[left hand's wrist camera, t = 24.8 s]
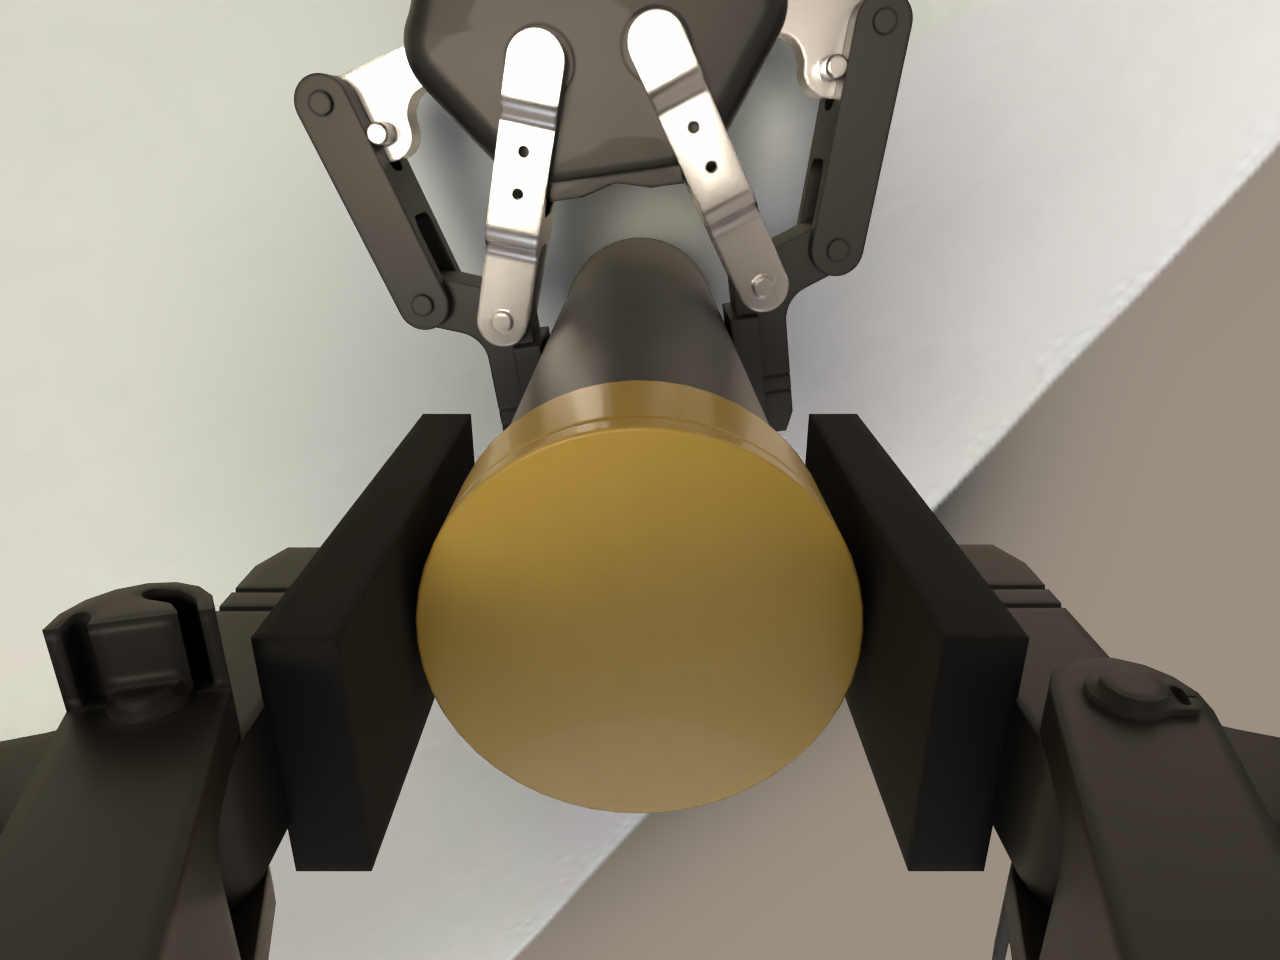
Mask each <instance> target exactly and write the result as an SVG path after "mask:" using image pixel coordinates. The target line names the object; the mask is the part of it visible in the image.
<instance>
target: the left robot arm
mask: <svg viewBox="0 0 1280 960" xmlns="http://www.w3.org/2000/svg"><path fill="white" fill-rule="evenodd" d="M474 465H475V463H474V450H473V437H472V424H471V414H423V415H422V416H421V418H420V419H419V420H418V421H417V423H416V424H415V425H414V427H413V428H412V429H411V430H410V432H409V433H408V434H407V436H406V437H405V438H404V440H403V441H402V442H401V443H400V445H399V446H398V447H397V449H396V450H395V451H394V452H393V454H392V455H391V456H390V458H389V459H388V460H387V462H386V463H385V464H384V465H383V467H382V468H381V469H380V471H379V472H378V473H377V475H376V476H375V477H374V478H373V480H372V481H371V482H370V484H369V485H368V486H367V487H366V489H365V490H364V491H363V493H362V494H361V495H360V497H359V498H358V499H357V500H356V502H355V503H354V504H353V506H352V507H351V508H350V509H349V511H348V512H347V513H346V515H345V516H344V517H343V519H342V520H341V521H340V522H339V524H338V525H337V526H336V528H335V529H334V530H333V532H332V533H331V534H330V535H329V537H328V538H327V539H326V541H325V542H324V543H323V544H322V546H321V547H320V548H286V549H285V550H283V551H281V552H279V553H278V554H276V555H274V556H272V557H271V558H269V559H267V560H265V561H264V562H262V563H260V564H258V565H257V566H255V567H254V568H253V569H252V571H251V572H250V573H249V574H248V575H247V576H246V577H245V578H244V580H243V581H242V582H241V583H240V584H239V585H238V586H237V587H236V593H231V594H230V595H229V596H228V598H227V599H226V600H225V601H224V602H223V603H222V604H221V605H220V610H219V611H215V606H214V602H213V597H212V595H211V594H209V593H208V592H206V591H205V590H204V589H202V588H201V587H199V586H194V585H189V584H184V583H178V582H171V583H147V584H142V585H137V586H132V587H127V588H122V589H116V590H113V591H111V592H108V593H105V594H102V595H99V596H96V597H93V598H90V599H87V600H85V601H83V602H81V603H79V604H77V605H76V606H74V607H72V608H70V609H68V610H66V611H65V612H63V613H61V614H59V615H58V616H57V617H56V618H55V619H54V620H53V621H52V622H51V623H50V624H49V625H47V626H46V627H45V628H44V629H43V630H42V631H43V634H44V638H45V641H46V644H47V648H48V651H49V654H50V658H51V661H52V664H53V668H54V671H55V674H56V678H57V681H58V684H59V688H60V691H61V694H62V698H63V701H64V704H65V708H66V711H67V712H66V714H65V716H64V718H63V720H62V722H61V723H60V725H59V727H58V729H57V730H56V731H52V732H48V733H43V734H38V735H33V736H28V737H22V738H17V739H12V740H7V741H1V742H0V960H268V958H269V950H270V943H271V935H272V928H273V920H274V913H275V905H276V901H275V893H274V886H273V881H272V876H271V872H270V867H269V864H270V862H271V860H272V858H273V856H274V854H275V852H276V850H277V848H278V846H279V844H280V842H281V840H282V838H283V836H284V834H285V832H286V830H287V829H288V832H289V837H290V842H291V847H292V852H293V857H294V862H295V867H296V871H372V869H373V866H374V863H375V860H376V858H377V855H378V852H379V849H380V847H381V844H382V841H383V838H384V836H385V833H386V830H387V827H388V825H389V822H390V819H391V816H392V814H393V811H394V808H395V805H396V803H397V800H398V797H399V794H400V792H401V789H402V786H403V783H404V781H405V778H406V775H407V772H408V770H409V767H410V764H411V761H412V759H413V756H414V753H415V750H416V748H417V745H418V742H419V739H420V737H421V734H422V731H423V728H424V726H425V723H426V720H427V717H428V715H429V712H430V709H431V706H432V704H433V701H434V698H435V696H434V695H433V693H432V690H431V688H430V685H429V683H428V680H427V677H426V675H425V672H424V669H423V666H422V662H421V657H420V653H419V648H418V644H417V631H416V607H417V595H418V589H419V585H420V581H421V576H422V572H423V568H424V565H425V563H426V560H427V558H428V555H429V553H430V550H431V548H432V546H433V543H434V541H435V539H436V537H437V535H438V533H439V531H440V529H441V527H442V525H443V523H444V521H445V519H446V517H447V515H448V513H449V511H450V509H451V507H452V505H453V503H454V501H455V499H456V497H457V495H458V493H459V491H460V489H461V487H462V485H463V483H464V481H465V480H466V478H467V476H468V475H469V473H470V471H471V470H472V468H473V466H474ZM805 466H806V467H807V469H808V470H809V472H810V473H811V475H812V477H813V479H814V481H815V483H816V485H817V487H818V489H819V491H820V493H821V495H822V497H823V499H824V501H825V503H826V505H827V507H828V509H829V511H830V513H831V515H832V517H833V519H834V521H835V523H836V525H837V527H838V529H839V531H840V533H841V535H842V537H843V539H844V541H845V543H846V545H847V547H848V550H849V552H850V554H851V556H852V559H853V562H854V565H855V568H856V572H857V575H858V578H859V581H860V588H861V594H862V601H863V637H862V643H861V650H860V656H859V660H858V663H857V666H856V669H855V673H854V676H853V679H852V682H851V684H850V686H849V688H848V691H847V693H846V695H845V698H846V701H847V704H848V706H849V709H850V712H851V715H852V717H853V720H854V723H855V726H856V728H857V731H858V734H859V737H860V739H861V742H862V745H863V747H864V750H865V753H866V756H867V759H868V761H869V764H870V767H871V770H872V772H873V775H874V778H875V780H876V783H877V786H878V789H879V792H880V794H881V797H882V800H883V802H884V805H885V808H886V811H887V814H888V816H889V819H890V822H891V825H892V827H893V830H894V833H895V836H896V838H897V841H898V844H899V847H900V849H901V852H902V855H903V858H904V860H905V863H906V866H907V869H908V871H984V867H985V862H986V857H987V852H988V847H989V842H990V837H991V832H992V827H993V826H994V828H995V830H996V832H997V834H998V836H999V838H1000V840H1001V842H1002V843H1003V846H1004V847H1005V849H1006V851H1007V853H1008V855H1009V857H1010V859H1011V861H1012V862H1011V867H1010V872H1009V876H1008V881H1007V886H1006V891H1005V895H1004V900H1003V905H1002V910H1001V914H1000V919H999V924H998V929H997V933H996V938H995V943H994V951H993V957H992V960H1005V957H1006V953H1007V948H1008V944H1009V943H1010V948H1011V955H1012V960H1280V738H1279V737H1274V736H1269V735H1263V734H1258V733H1253V732H1247V731H1242V730H1237V729H1232V728H1228V727H1224V726H1222V725H1221V724H1220V722H1219V720H1218V718H1217V716H1216V714H1215V713H1214V711H1213V710H1212V708H1211V707H1210V706H1209V705H1208V704H1207V703H1206V702H1205V700H1204V699H1203V698H1202V697H1201V696H1200V695H1199V693H1197V692H1196V691H1194V690H1193V689H1191V688H1190V687H1188V686H1187V685H1185V684H1183V683H1182V682H1180V681H1179V680H1177V679H1176V678H1174V677H1172V676H1170V675H1167V674H1165V673H1162V672H1160V671H1158V670H1155V669H1153V668H1150V667H1148V666H1145V665H1142V664H1137V663H1133V662H1129V661H1124V660H1120V659H1116V658H1110V657H1109V656H1108V655H1107V654H1106V653H1105V652H1104V651H1103V650H1102V648H1101V647H1100V646H1099V645H1098V644H1097V643H1096V642H1095V641H1094V639H1093V638H1092V637H1091V636H1090V635H1089V634H1088V633H1087V632H1086V631H1085V629H1084V628H1083V627H1082V626H1081V625H1080V624H1079V623H1078V622H1077V620H1076V619H1075V618H1074V617H1073V616H1072V615H1071V614H1070V613H1069V612H1068V610H1067V609H1066V608H1061V603H1060V601H1059V600H1058V599H1057V598H1056V597H1055V596H1054V595H1053V594H1052V593H1051V591H1050V590H1049V589H1045V585H1044V584H1043V582H1042V581H1041V580H1040V579H1039V578H1038V577H1037V576H1036V575H1035V574H1034V572H1033V571H1032V570H1031V569H1030V568H1029V567H1028V566H1027V565H1026V564H1025V563H1024V562H1022V561H1020V560H1019V559H1017V558H1015V557H1013V556H1012V555H1010V554H1008V553H1006V552H1004V551H1003V550H1001V549H999V548H997V547H996V546H994V545H958V544H957V543H956V542H955V541H954V539H953V538H952V537H951V535H950V534H949V533H948V532H947V530H946V529H945V528H944V526H943V525H942V524H941V522H940V521H939V520H938V519H937V517H936V516H935V515H934V513H933V512H932V511H931V509H930V508H929V507H928V506H927V504H926V503H925V502H924V500H923V499H922V498H921V497H920V495H919V494H918V493H917V491H916V490H915V489H914V487H913V486H912V485H911V484H910V482H909V481H908V480H907V478H906V477H905V476H904V475H903V473H902V472H901V471H900V469H899V468H898V467H897V465H896V464H895V463H894V462H893V460H892V459H891V458H890V456H889V455H888V454H887V452H886V451H885V450H884V449H883V447H882V446H881V445H880V443H879V442H878V441H877V440H876V438H875V437H874V436H873V434H872V433H871V432H870V430H869V429H868V428H867V427H866V425H865V424H864V423H863V421H862V420H861V419H860V418H859V416H858V415H857V414H809V424H808V437H807V450H806V463H805Z"/></svg>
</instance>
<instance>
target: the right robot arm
mask: <svg viewBox="0 0 1280 960" xmlns="http://www.w3.org/2000/svg"><path fill="white" fill-rule="evenodd" d="M912 21H913V14H912V9H911V6H910V4H909V2H908V0H411V6H410V10H409V14H408V17H407V21H406V24H405V29H404V46H402V47H400V48H398V49H396V50H394V51H391V52H389V53H387V54H385V55H383V56H381V57H379V58H377V59H375V60H373V61H371V62H368V63H366V64H364V65H362V66H360V67H358V68H356V69H354V70H352V71H350V72H348V73H345V74H343V75H341V76H333V75H328V74H322V73H314V74H310V75H308V76H306V77H304V78H303V79H302V80H301V81H300V82H299V84H298V85H297V87H296V90H295V94H294V104H295V108H296V111H297V114H298V116H299V118H300V120H301V122H302V123H303V125H304V127H305V129H306V131H307V133H308V135H309V137H310V139H311V141H312V143H313V145H314V147H315V149H316V151H317V153H318V155H319V157H320V158H321V160H322V162H323V164H324V166H325V168H326V170H327V172H328V174H329V176H330V178H331V180H332V182H333V184H334V186H335V188H336V190H337V192H338V193H339V195H340V197H341V199H342V201H343V203H344V205H345V207H346V209H347V211H348V213H349V215H350V217H351V219H352V221H353V223H354V225H355V226H356V228H357V230H358V232H359V234H360V236H361V238H362V240H363V242H364V244H365V246H366V248H367V250H368V252H369V254H370V256H371V258H372V260H373V261H374V263H375V265H376V267H377V269H378V271H379V273H380V275H381V277H382V279H383V281H384V283H385V285H386V287H387V289H388V291H389V293H390V294H391V296H392V298H393V300H394V302H395V304H396V306H397V308H398V310H399V312H400V314H401V316H402V317H403V319H404V320H405V321H406V322H407V323H408V324H409V325H411V326H413V327H415V328H417V329H422V330H429V329H433V328H436V327H437V328H442V329H446V330H451V331H456V332H460V333H464V334H467V335H470V336H472V337H473V338H475V339H476V340H477V341H478V342H480V344H481V345H482V346H483V347H484V349H485V350H486V353H487V355H488V358H489V363H490V368H491V373H492V378H493V382H494V387H495V392H496V397H497V402H498V407H499V410H500V417H501V422H502V425H503V431H504V430H505V429H507V428H508V427H509V426H510V425H511V422H512V420H513V418H514V416H515V413H516V411H517V409H518V407H519V404H520V402H521V400H522V398H523V395H524V393H525V391H526V389H527V386H528V384H529V382H530V380H531V377H532V375H533V373H534V371H535V368H536V366H537V364H538V362H539V359H540V357H541V355H542V353H543V350H544V348H545V346H546V344H547V341H548V339H549V337H550V332H549V326H548V327H540V326H539V320H538V315H537V309H538V304H539V297H540V291H541V285H542V278H543V272H544V266H545V259H546V253H547V247H548V242H549V239H550V235H551V230H552V225H553V218H554V212H555V206H556V201H559V200H566V199H574V198H581V197H584V196H587V195H589V194H591V193H593V192H596V191H598V190H600V189H602V188H605V187H607V186H609V185H611V184H614V183H621V184H628V185H635V186H643V187H650V188H652V187H659V186H666V185H673V184H680V183H685V185H686V187H687V189H688V192H689V194H690V196H691V198H692V200H693V203H694V205H695V207H696V209H697V211H698V213H699V215H700V217H701V219H702V221H703V223H704V226H705V228H706V230H707V232H708V234H709V236H710V239H711V241H712V243H713V245H714V247H715V250H716V252H717V254H718V256H719V258H720V260H721V263H722V265H723V267H724V269H725V271H726V274H727V276H728V283H729V293H730V303H725V304H723V315H724V324H725V326H726V328H727V331H728V333H729V335H730V337H731V340H732V342H733V344H734V347H735V349H736V351H737V353H738V356H739V358H740V360H741V362H742V365H743V367H744V369H745V371H746V374H747V376H748V378H749V380H750V383H751V385H752V387H753V390H754V392H755V394H756V396H757V399H758V401H759V403H760V405H761V408H762V410H763V412H764V414H765V417H766V419H767V421H768V423H769V426H770V427H772V428H773V429H774V430H775V431H784V430H786V429H787V426H788V423H789V420H790V417H791V414H792V397H791V383H790V373H789V372H790V369H789V356H788V342H787V328H786V313H787V309H788V306H789V304H790V302H791V300H792V299H793V298H794V296H795V295H796V294H797V293H798V292H800V291H801V290H802V289H804V288H806V287H808V286H810V285H812V284H814V283H815V282H817V281H819V280H821V279H823V278H825V277H827V276H829V275H831V276H840V275H844V274H846V273H848V272H850V271H851V270H853V269H854V268H855V267H856V266H857V265H858V263H859V262H860V260H861V258H862V254H863V250H864V245H865V241H866V236H867V231H868V227H869V222H870V218H871V213H872V208H873V204H874V199H875V194H876V190H877V185H878V180H879V176H880V171H881V166H882V162H883V157H884V153H885V148H886V143H887V139H888V134H889V129H890V125H891V120H892V115H893V111H894V106H895V101H896V97H897V92H898V87H899V83H900V78H901V74H902V69H903V64H904V60H905V55H906V50H907V46H908V41H909V36H910V32H911V27H912ZM776 39H781V40H783V41H784V42H786V43H787V44H788V45H789V46H790V47H791V48H792V50H793V51H794V53H795V56H796V59H797V79H798V83H799V85H800V87H801V89H802V90H803V92H804V93H805V94H807V95H808V96H810V97H812V98H814V99H820V103H819V108H818V113H817V119H816V124H815V130H814V135H813V140H812V146H811V151H810V157H809V162H808V167H807V173H806V178H805V184H804V189H803V194H802V200H801V205H800V211H799V216H798V221H797V225H796V226H794V227H792V228H791V229H789V230H787V231H785V232H783V233H781V234H779V235H777V236H775V237H773V238H772V239H771V237H770V235H769V233H768V231H767V228H766V226H765V224H764V221H763V219H762V217H761V214H760V212H759V209H758V206H757V202H756V199H755V196H754V194H753V191H752V189H751V186H750V184H749V182H748V179H747V177H746V175H745V172H744V170H743V168H742V166H741V163H740V161H739V159H738V156H737V154H736V152H735V149H734V147H733V145H732V142H731V140H730V138H729V135H728V133H727V131H728V129H729V127H730V126H731V124H732V122H733V120H734V118H735V116H736V114H737V112H738V111H739V109H740V107H741V105H742V103H743V101H744V99H745V97H746V96H747V94H748V92H749V90H750V88H751V86H752V84H753V82H754V81H755V79H756V77H757V75H758V73H759V71H760V69H761V68H762V66H763V64H764V62H765V60H766V58H767V56H768V54H769V53H770V51H771V49H772V47H773V45H774V43H775V41H776ZM426 92H428V93H429V94H430V95H431V96H432V97H433V98H434V99H435V100H436V101H437V102H438V103H439V104H440V105H441V106H442V107H443V109H444V110H445V111H446V112H447V113H448V114H449V115H450V116H451V117H452V118H453V119H454V120H455V121H456V122H457V123H458V124H459V125H460V126H461V127H462V128H463V130H464V131H465V132H466V133H467V134H468V135H469V136H470V137H471V138H472V139H473V140H474V141H475V142H476V143H477V144H478V145H479V146H480V147H481V148H482V149H483V151H484V152H485V153H486V154H487V155H488V156H489V157H490V158H491V159H492V160H493V161H494V168H493V176H492V183H491V191H490V198H489V206H488V214H487V221H486V230H485V242H486V254H485V262H484V269H483V277H482V276H477V275H473V274H468V273H464V272H461V271H460V268H459V266H458V264H457V262H456V260H455V258H454V256H453V254H452V252H451V250H450V248H449V245H448V243H447V241H446V239H445V237H444V235H443V233H442V231H441V229H440V227H439V225H438V223H437V220H436V218H435V216H434V214H433V212H432V210H431V208H430V206H429V204H428V202H427V200H426V198H425V195H424V193H423V191H422V189H421V187H420V185H419V183H418V181H417V179H416V177H415V175H414V173H413V170H412V168H411V166H410V164H409V162H408V160H407V159H408V158H409V157H411V156H412V155H413V154H414V153H415V152H416V151H417V149H418V147H419V145H420V140H421V132H420V128H419V125H418V121H417V106H418V103H419V100H420V99H421V97H422V96H423V95H424V94H425V93H426Z"/></svg>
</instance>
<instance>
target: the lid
mask: <svg viewBox="0 0 1280 960" xmlns="http://www.w3.org/2000/svg"><path fill="white" fill-rule="evenodd" d="M416 631H417V644H418V648H419V653H420V657H421V662H422V666H423V669H424V672H425V675H426V677H427V680H428V683H429V685H430V688H431V690H432V693H433V695H434V696H435V698H436V700H437V702H438V704H439V705H440V707H441V709H442V711H443V713H444V714H445V716H446V717H447V718H448V720H449V721H450V722H451V724H452V725H453V727H454V728H455V729H456V731H457V732H458V733H459V735H460V736H461V737H462V738H463V739H464V740H465V741H466V742H467V743H468V744H469V745H470V746H471V747H472V748H473V749H474V750H475V751H476V752H477V753H478V754H479V755H481V756H482V757H483V758H484V759H485V760H487V761H488V762H489V763H490V764H492V765H493V766H494V767H495V768H497V769H498V770H500V771H501V772H503V773H504V774H506V775H508V776H509V777H511V778H512V779H514V780H515V781H517V782H519V783H521V784H523V785H525V786H527V787H529V788H531V789H533V790H535V791H537V792H539V793H541V794H544V795H547V796H549V797H552V798H555V799H558V800H561V801H564V802H566V803H570V804H574V805H578V806H583V807H587V808H591V809H597V810H605V811H612V812H623V813H654V812H668V811H676V810H681V809H687V808H692V807H698V806H702V805H705V804H709V803H712V802H715V801H719V800H722V799H725V798H728V797H730V796H732V795H735V794H737V793H740V792H742V791H744V790H747V789H749V788H751V787H753V786H755V785H756V784H758V783H760V782H762V781H764V780H765V779H767V778H769V777H771V776H772V775H774V774H775V773H777V772H778V771H779V770H781V769H782V768H784V767H785V766H786V765H788V764H789V763H791V762H792V761H793V760H794V759H795V758H796V757H798V756H799V755H800V754H801V753H802V752H803V751H804V750H805V749H806V748H807V747H809V746H810V745H811V744H812V742H813V741H814V740H815V739H816V738H817V737H818V736H819V734H820V733H821V732H822V731H823V730H824V729H825V727H826V726H827V725H828V723H829V722H830V720H831V719H832V717H833V716H834V714H835V713H836V711H837V710H838V708H839V707H840V705H841V703H842V701H843V699H844V697H845V695H846V693H847V691H848V688H849V686H850V684H851V682H852V679H853V676H854V673H855V669H856V666H857V663H858V660H859V656H860V650H861V643H862V637H863V601H862V594H861V588H860V581H859V578H858V575H857V572H856V568H855V565H854V562H853V559H852V556H851V554H850V552H849V550H848V547H847V545H846V543H845V541H844V539H843V537H842V535H841V533H840V531H839V529H838V527H837V525H836V523H835V521H834V519H833V517H832V515H831V513H830V511H829V509H828V507H827V505H826V503H825V501H824V499H823V497H822V495H821V493H820V491H819V489H818V487H817V485H816V483H815V481H814V479H813V477H812V475H811V473H810V472H809V470H808V469H807V467H806V466H805V464H804V463H803V461H802V460H801V458H800V457H799V456H798V454H797V453H796V452H795V450H794V449H793V448H792V447H791V446H790V445H789V444H788V443H787V442H786V441H785V440H784V438H783V437H782V436H781V435H780V434H779V433H778V432H776V431H775V430H774V429H773V428H772V427H770V426H769V425H768V424H767V423H765V422H764V421H763V420H762V419H761V418H759V417H758V416H756V415H754V414H753V413H751V412H749V411H748V410H746V409H745V408H743V407H741V406H740V405H738V404H736V403H734V402H732V401H729V400H727V399H725V398H723V397H720V396H718V395H716V394H714V393H711V392H707V391H704V390H701V389H697V388H694V387H691V386H687V385H681V384H675V383H668V382H662V381H639V380H632V381H621V382H610V383H603V384H599V385H594V386H590V387H585V388H581V389H578V390H575V391H572V392H570V393H567V394H564V395H561V396H559V397H556V398H554V399H552V400H550V401H548V402H546V403H544V404H542V405H540V406H538V407H536V408H534V409H532V410H531V411H529V412H528V413H527V414H525V415H524V416H522V417H521V418H519V419H518V420H517V421H515V422H514V423H512V424H511V425H510V426H509V427H508V428H507V429H505V430H504V431H503V432H502V433H501V434H500V435H499V436H498V437H497V438H496V439H495V440H494V441H493V442H492V443H491V444H490V445H489V446H488V448H487V449H486V450H485V451H484V453H483V454H482V455H481V456H480V458H479V459H478V460H477V461H476V463H475V465H474V466H473V468H472V470H471V471H470V473H469V475H468V476H467V478H466V480H465V481H464V483H463V485H462V487H461V489H460V491H459V493H458V495H457V497H456V499H455V501H454V503H453V505H452V507H451V509H450V511H449V513H448V515H447V517H446V519H445V521H444V523H443V525H442V527H441V529H440V531H439V533H438V535H437V537H436V539H435V541H434V543H433V546H432V548H431V550H430V553H429V555H428V558H427V560H426V563H425V565H424V568H423V572H422V576H421V581H420V585H419V589H418V595H417V607H416Z"/></svg>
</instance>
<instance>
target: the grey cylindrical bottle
mask: <svg viewBox="0 0 1280 960" xmlns="http://www.w3.org/2000/svg"><path fill="white" fill-rule="evenodd" d="M632 380H639V381H662V382H668V383H675V384H681V385H687V386H691V387H694V388H697V389H701V390H704V391H707V392H711V393H714V394H716V395H718V396H720V397H723V398H725V399H727V400H729V401H732V402H734V403H736V404H738V405H740V406H741V407H743V408H745V409H746V410H748V411H749V412H751V413H753V414H754V415H756V416H758V417H759V418H761V419H762V420H763V421H764V422H765V423H767V424H768V425H769V423H768V421H767V419H766V417H765V414H764V412H763V410H762V408H761V405H760V403H759V401H758V399H757V396H756V394H755V392H754V390H753V387H752V385H751V383H750V380H749V378H748V376H747V374H746V371H745V369H744V367H743V365H742V362H741V360H740V358H739V356H738V353H737V351H736V349H735V347H734V344H733V342H732V340H731V337H730V335H729V333H728V331H727V328H726V326H725V324H724V322H723V319H722V317H721V315H720V313H719V310H718V308H717V306H716V304H715V301H714V299H713V297H712V294H711V292H710V290H709V288H708V285H707V283H706V281H705V279H704V277H703V275H702V273H701V272H700V270H699V269H698V267H697V266H696V265H695V263H694V262H693V261H692V260H691V259H690V258H689V257H688V256H687V255H686V254H684V253H683V252H682V251H680V250H679V249H677V248H675V247H674V246H672V245H670V244H667V243H665V242H662V241H658V240H655V239H648V238H632V239H625V240H621V241H618V242H615V243H613V244H610V245H608V246H606V247H604V248H603V249H601V250H600V251H598V252H597V253H596V254H594V255H593V256H592V257H591V258H590V259H589V260H588V261H587V262H586V263H585V264H584V266H583V267H582V268H581V270H580V271H579V273H578V275H577V277H576V279H575V281H574V283H573V285H572V287H571V289H570V292H569V294H568V296H567V298H566V301H565V303H564V305H563V308H562V310H561V312H560V314H559V317H558V319H557V321H556V323H555V326H554V328H553V330H552V332H551V335H550V337H549V339H548V341H547V344H546V346H545V348H544V350H543V353H542V355H541V357H540V359H539V362H538V364H537V366H536V368H535V371H534V373H533V375H532V377H531V380H530V382H529V384H528V386H527V389H526V391H525V393H524V395H523V398H522V400H521V402H520V404H519V407H518V409H517V411H516V413H515V416H514V418H513V420H512V422H511V424H512V423H514V422H515V421H517V420H518V419H519V418H521V417H522V416H524V415H525V414H527V413H528V412H529V411H531V410H532V409H534V408H536V407H538V406H540V405H542V404H544V403H546V402H548V401H550V400H552V399H554V398H556V397H559V396H561V395H564V394H567V393H570V392H572V391H575V390H578V389H581V388H585V387H590V386H594V385H599V384H603V383H610V382H621V381H632Z"/></svg>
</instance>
